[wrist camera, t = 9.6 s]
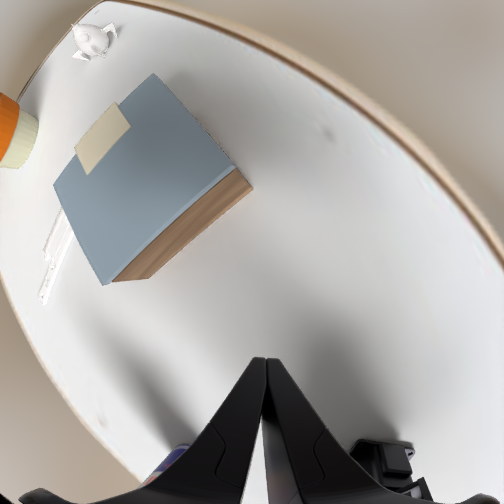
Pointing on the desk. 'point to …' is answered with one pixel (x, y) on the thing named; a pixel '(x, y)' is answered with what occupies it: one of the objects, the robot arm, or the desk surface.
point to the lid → (136, 176)
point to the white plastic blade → (55, 251)
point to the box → (187, 227)
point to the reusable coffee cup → (15, 133)
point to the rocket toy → (91, 39)
